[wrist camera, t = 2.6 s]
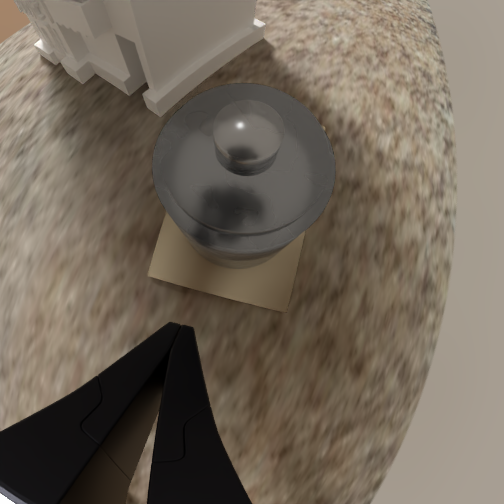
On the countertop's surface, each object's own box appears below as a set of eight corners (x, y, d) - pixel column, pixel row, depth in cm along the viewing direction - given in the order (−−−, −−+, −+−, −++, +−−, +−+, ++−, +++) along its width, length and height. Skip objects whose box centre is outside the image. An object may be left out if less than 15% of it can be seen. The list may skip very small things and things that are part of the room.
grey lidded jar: (168, 252, 19) (104, 205, 9) (200, 150, 20) (183, 40, 10) (279, 281, 20) (338, 266, 9) (303, 177, 21) (362, 84, 10)
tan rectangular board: (149, 276, 20) (147, 275, 19) (209, 101, 22) (209, 96, 21) (284, 312, 20) (286, 312, 19) (323, 130, 22) (325, 126, 22)
